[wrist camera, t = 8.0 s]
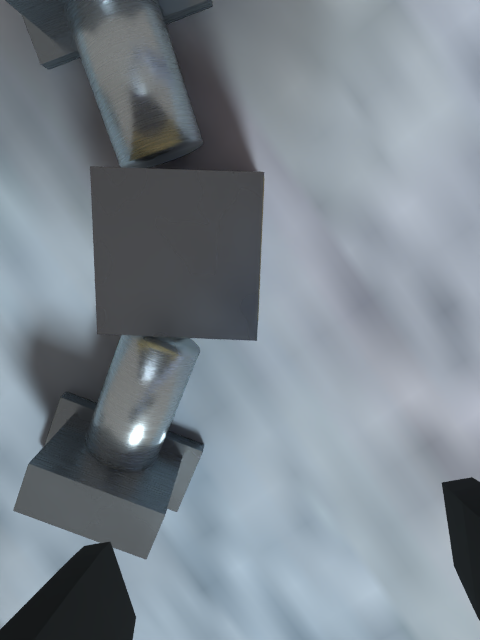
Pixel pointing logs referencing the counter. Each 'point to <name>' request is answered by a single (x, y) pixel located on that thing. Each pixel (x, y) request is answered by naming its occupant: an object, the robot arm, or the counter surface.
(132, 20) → the shaft
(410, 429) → the counter surface
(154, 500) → the shaft
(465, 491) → the robot arm
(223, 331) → the block
